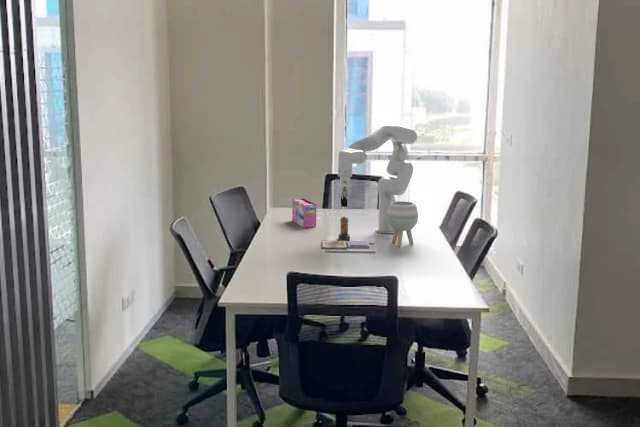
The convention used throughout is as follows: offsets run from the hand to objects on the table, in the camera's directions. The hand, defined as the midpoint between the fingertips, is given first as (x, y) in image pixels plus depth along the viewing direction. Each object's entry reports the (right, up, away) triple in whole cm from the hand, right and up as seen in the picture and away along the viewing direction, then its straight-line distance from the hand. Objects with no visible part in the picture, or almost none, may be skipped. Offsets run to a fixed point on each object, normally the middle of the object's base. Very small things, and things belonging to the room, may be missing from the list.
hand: (344, 205), depth 378 cm
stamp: (0, -19, +4) cm, 19 cm away
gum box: (-23, -11, +44) cm, 51 cm away
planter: (+30, -21, -8) cm, 38 cm away
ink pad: (+7, -21, -11) cm, 25 cm away
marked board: (-5, -21, -11) cm, 24 cm away
